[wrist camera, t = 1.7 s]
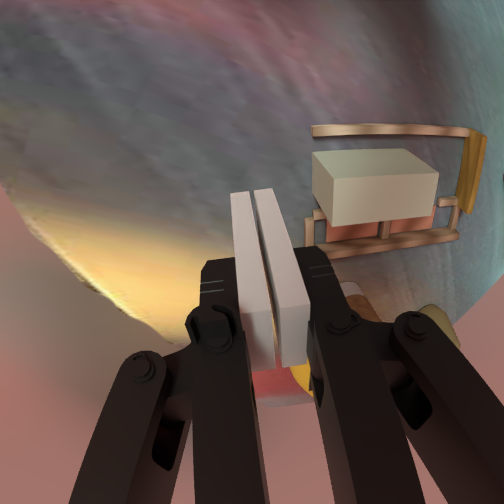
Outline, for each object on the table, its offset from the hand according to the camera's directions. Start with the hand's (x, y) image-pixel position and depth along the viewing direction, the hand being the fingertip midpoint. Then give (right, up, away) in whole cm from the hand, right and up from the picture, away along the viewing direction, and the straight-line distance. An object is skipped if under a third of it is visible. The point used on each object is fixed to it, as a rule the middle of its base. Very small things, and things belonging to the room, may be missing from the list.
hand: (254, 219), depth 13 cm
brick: (+15, +10, +27) cm, 33 cm away
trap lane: (+21, +8, +29) cm, 37 cm away
